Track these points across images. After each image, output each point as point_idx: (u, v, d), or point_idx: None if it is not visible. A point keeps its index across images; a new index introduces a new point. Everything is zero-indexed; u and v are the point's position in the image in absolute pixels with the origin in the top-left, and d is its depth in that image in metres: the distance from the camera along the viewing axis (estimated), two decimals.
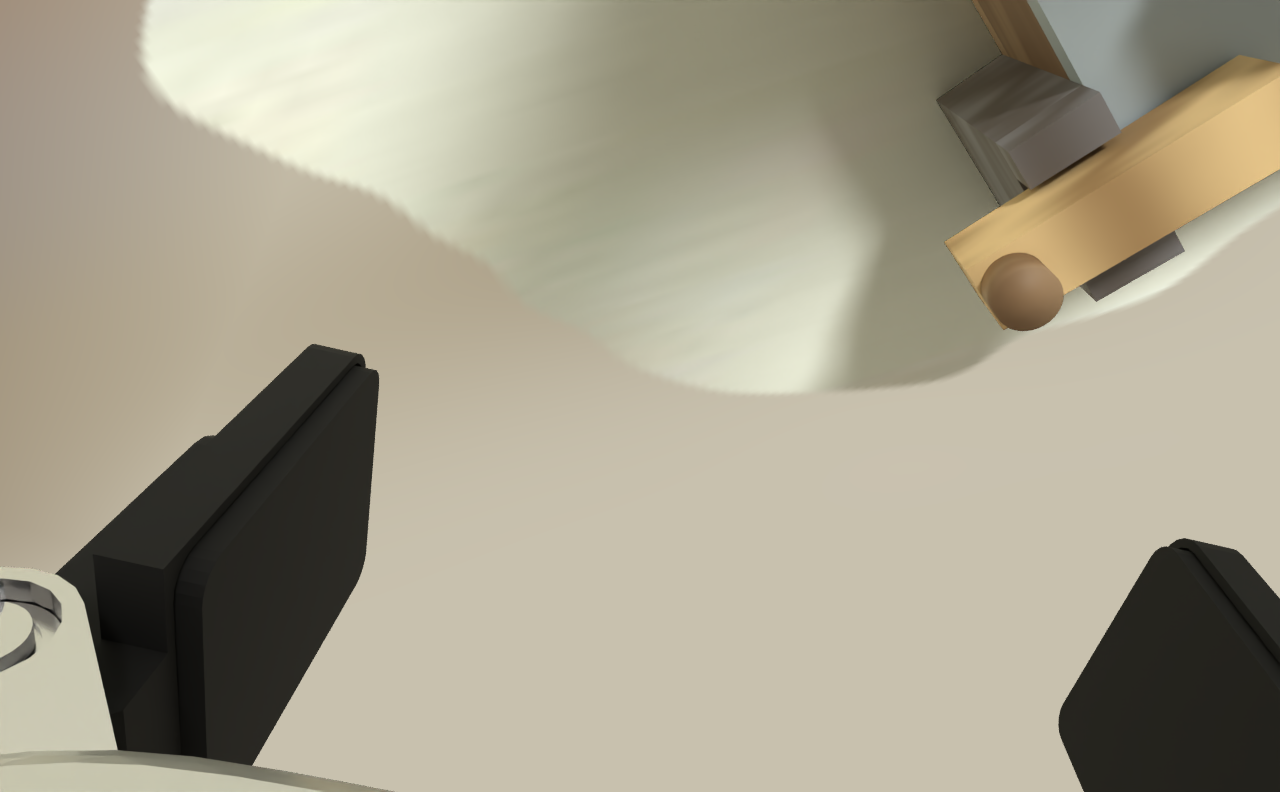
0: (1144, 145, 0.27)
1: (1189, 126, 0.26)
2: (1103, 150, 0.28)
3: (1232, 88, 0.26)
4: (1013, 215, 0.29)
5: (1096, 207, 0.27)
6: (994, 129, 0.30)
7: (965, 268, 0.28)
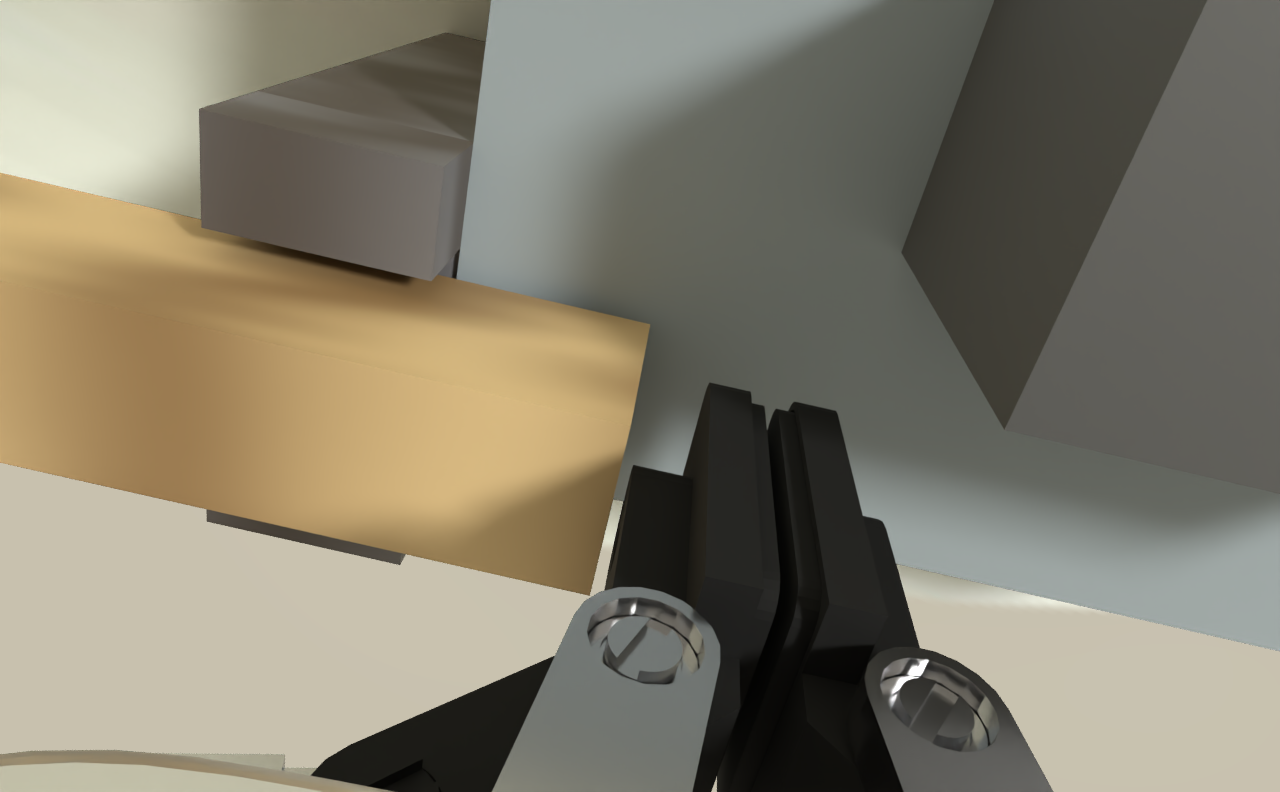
0: (324, 316, 0.11)
1: (395, 359, 0.10)
2: (312, 267, 0.12)
3: (542, 363, 0.11)
4: (42, 223, 0.11)
5: (109, 344, 0.10)
6: (317, 84, 0.13)
7: None
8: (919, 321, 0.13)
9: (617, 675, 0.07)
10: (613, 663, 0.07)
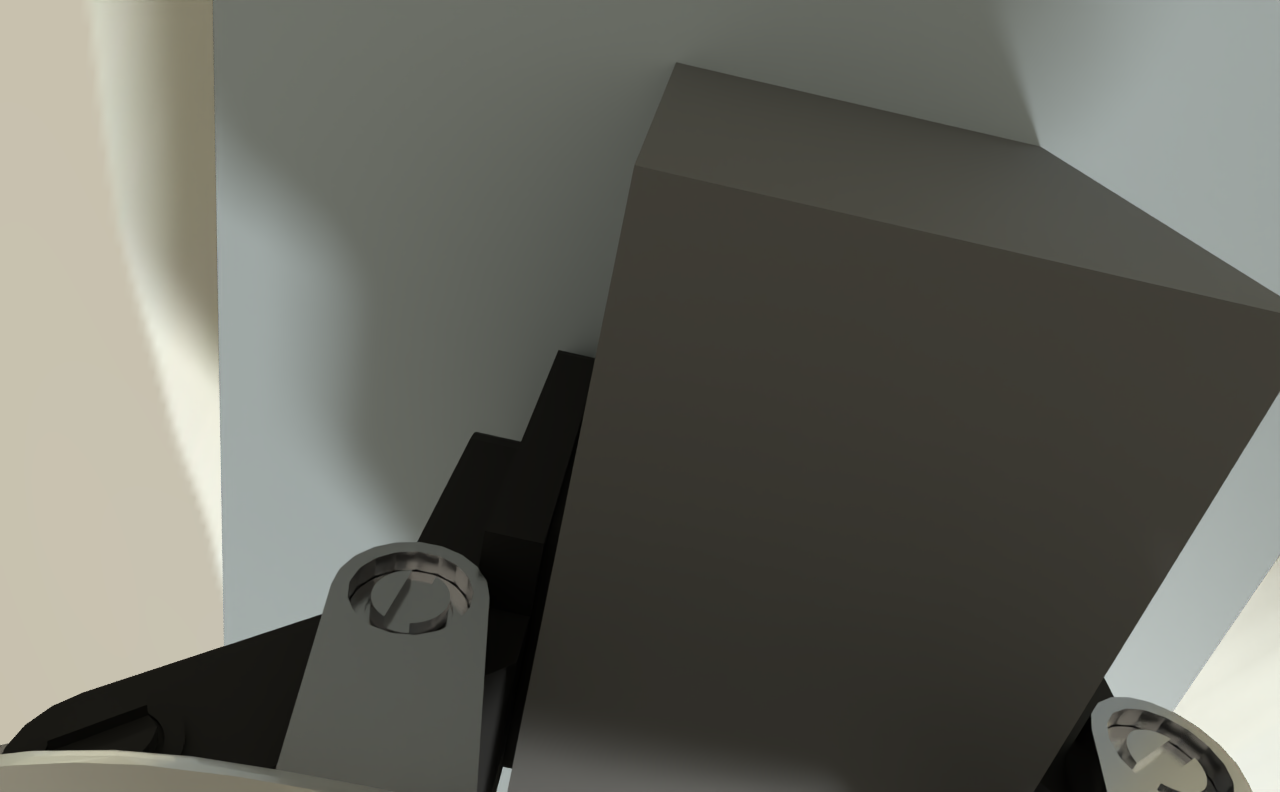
0: None
1: None
2: None
3: None
4: None
5: None
6: None
7: None
8: (583, 99, 0.10)
9: (387, 633, 0.06)
10: (381, 622, 0.07)
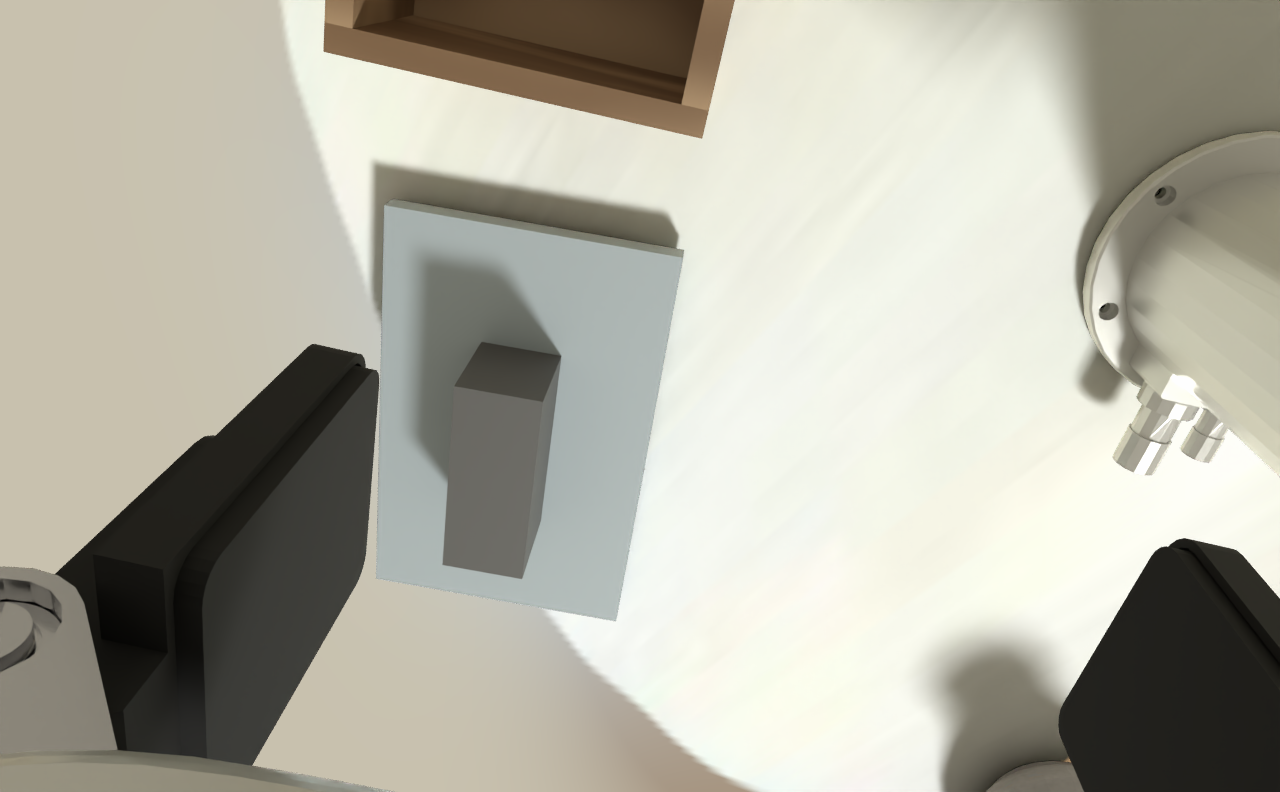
0: None
1: None
2: None
3: None
4: None
5: None
6: None
7: None
8: (462, 349, 0.44)
9: None
10: None
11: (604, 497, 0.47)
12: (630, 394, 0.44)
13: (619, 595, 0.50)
